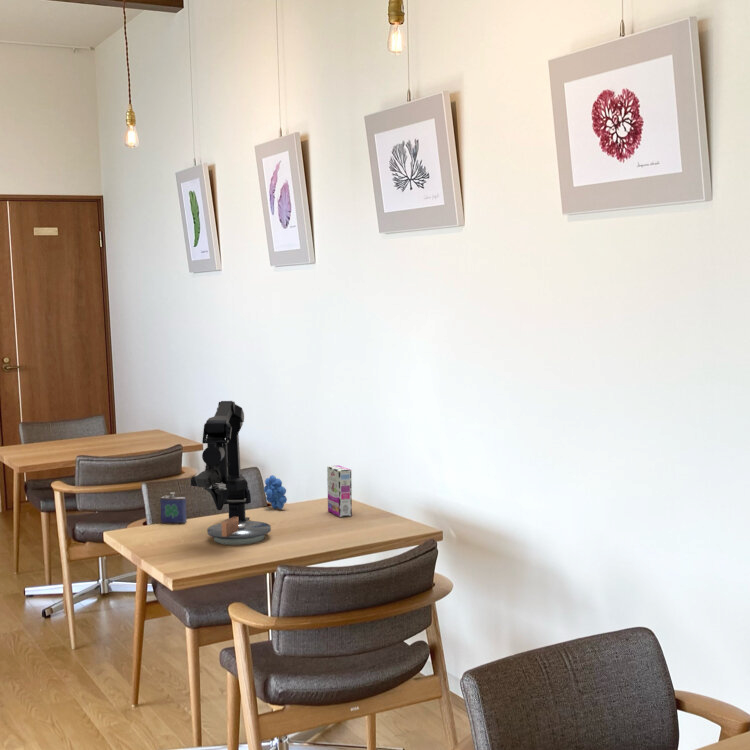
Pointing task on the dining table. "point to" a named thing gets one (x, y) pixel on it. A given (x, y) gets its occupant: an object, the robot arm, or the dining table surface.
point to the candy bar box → (339, 491)
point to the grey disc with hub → (238, 529)
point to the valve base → (239, 540)
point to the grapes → (275, 492)
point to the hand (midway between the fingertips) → (219, 510)
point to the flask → (173, 509)
